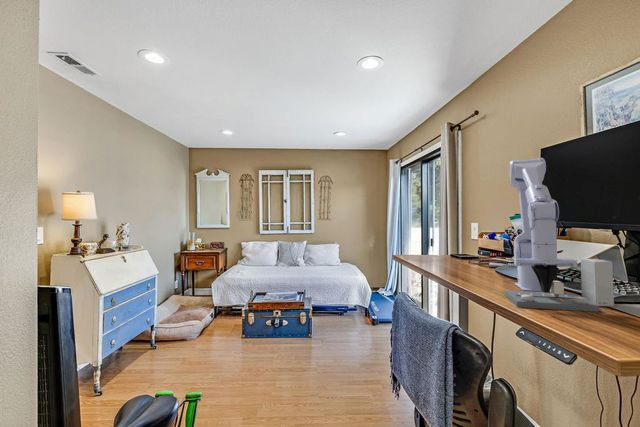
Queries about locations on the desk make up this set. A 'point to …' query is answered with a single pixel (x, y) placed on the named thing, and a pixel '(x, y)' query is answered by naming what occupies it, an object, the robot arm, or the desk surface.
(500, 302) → the desk surface
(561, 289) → the fader tab
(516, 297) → the console
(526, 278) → the robot arm
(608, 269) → the skincare box
